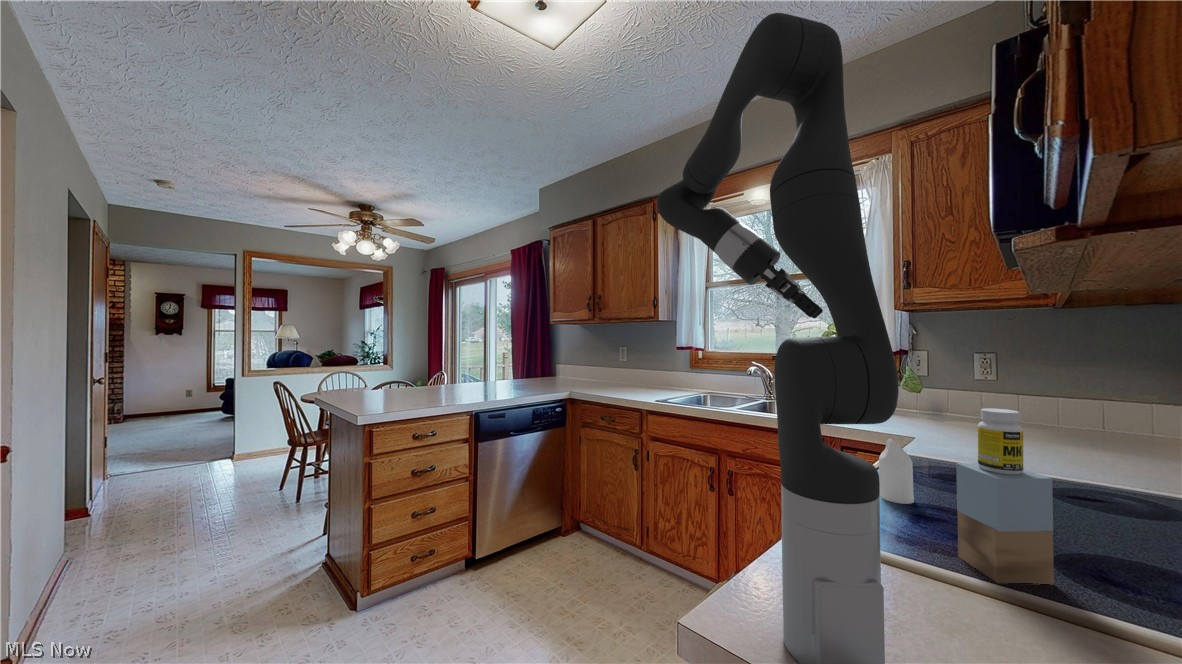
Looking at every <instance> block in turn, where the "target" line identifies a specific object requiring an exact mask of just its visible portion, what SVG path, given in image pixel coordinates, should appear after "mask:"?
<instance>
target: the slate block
mask: <svg viewBox="0 0 1182 664" xmlns="http://www.w3.org/2000/svg"><path fill="white" fill-rule="evenodd" d="M955 464H956V468H955V469H956V470H955V471H956V510H957V511H959V512H961V513H963V514H965V515H967V516H969V517H971V518H973V519H975V520H977V521H979V522H981V523H983V524H985V525H987V526H989V527H991V528H993V529H995V530H997V531H1052V532H1054V507H1053V505H1054V503H1053V478H1052V477H1049V476H1045V475H1043V474H1040V473H1036V472H1033V471H1031V470H1028V469H1025V468H1023V473H1022V474H1018V475H1007V474H999V473H994V472H990V471H986V470H983V469H981V468H980V467H979V466H978V462H976V463H975V462H968V463H967V462H962V463H961V462H959V463H958V462H957V463H955Z"/></svg>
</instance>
